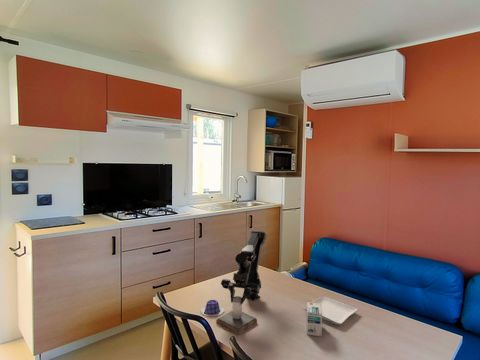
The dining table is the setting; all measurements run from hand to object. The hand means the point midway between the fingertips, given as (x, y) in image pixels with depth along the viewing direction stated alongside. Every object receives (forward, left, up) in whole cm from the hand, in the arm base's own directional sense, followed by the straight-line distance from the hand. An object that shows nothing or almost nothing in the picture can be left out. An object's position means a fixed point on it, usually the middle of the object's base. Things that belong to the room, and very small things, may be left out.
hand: (236, 303), depth 147 cm
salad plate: (-42, +28, -11) cm, 52 cm away
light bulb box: (-22, +29, -11) cm, 38 cm away
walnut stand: (-1, -1, -10) cm, 11 cm away
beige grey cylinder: (-1, -1, -7) cm, 7 cm away
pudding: (-1, -18, -11) cm, 21 cm away
